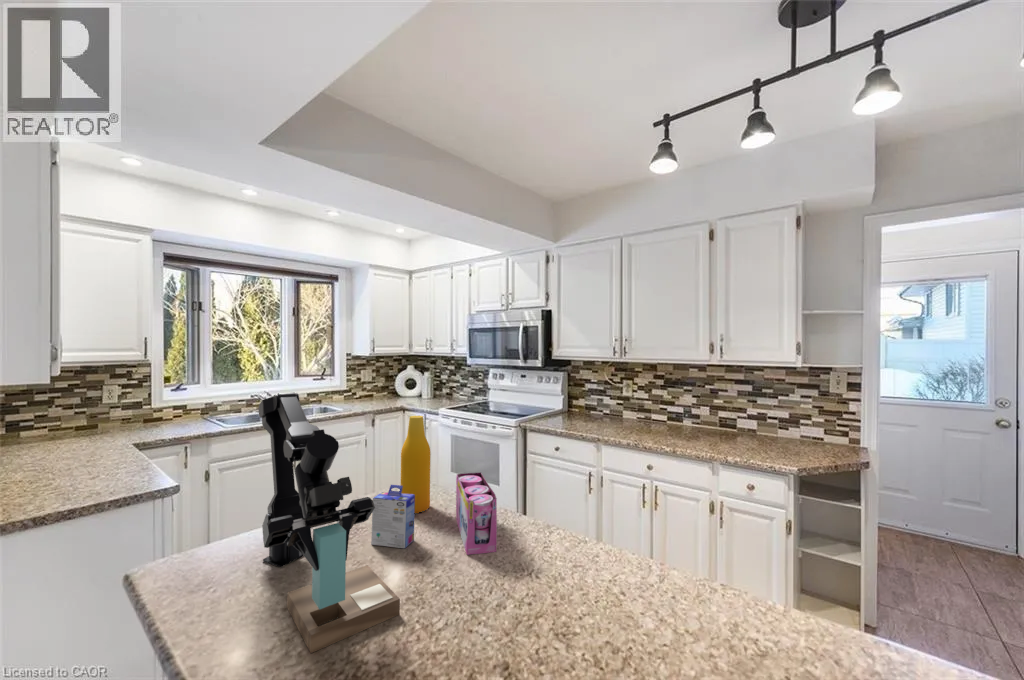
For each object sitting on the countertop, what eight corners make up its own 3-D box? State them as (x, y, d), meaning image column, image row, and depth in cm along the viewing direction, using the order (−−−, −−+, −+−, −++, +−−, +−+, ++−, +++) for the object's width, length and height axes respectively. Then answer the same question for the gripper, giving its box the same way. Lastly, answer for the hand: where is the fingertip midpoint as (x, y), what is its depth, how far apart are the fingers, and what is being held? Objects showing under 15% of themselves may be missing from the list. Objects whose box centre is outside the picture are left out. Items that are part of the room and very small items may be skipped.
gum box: (498, 555, 105) (499, 500, 105) (467, 558, 103) (467, 502, 103) (481, 516, 128) (481, 471, 128) (455, 519, 126) (455, 473, 126)
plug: (312, 597, 77) (313, 529, 77) (336, 588, 80) (337, 522, 80) (319, 609, 73) (320, 537, 73) (345, 599, 76) (346, 530, 76)
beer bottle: (416, 500, 140) (417, 413, 140) (436, 507, 134) (437, 416, 135) (393, 509, 132) (395, 417, 133) (413, 516, 127) (415, 420, 127)
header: (287, 607, 83) (287, 591, 83) (367, 578, 93) (367, 564, 93) (310, 653, 71) (311, 634, 71) (399, 614, 81) (399, 597, 81)
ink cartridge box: (415, 539, 112) (416, 485, 112) (406, 549, 107) (406, 492, 107) (381, 536, 114) (382, 482, 114) (370, 545, 109) (371, 489, 109)
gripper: (267, 474, 74) (281, 563, 65) (371, 456, 86) (395, 529, 77) (258, 506, 79) (269, 591, 71) (356, 485, 92) (376, 556, 83)
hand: (331, 565), depth 75 cm, fingers closed on plug, 4 cm apart
